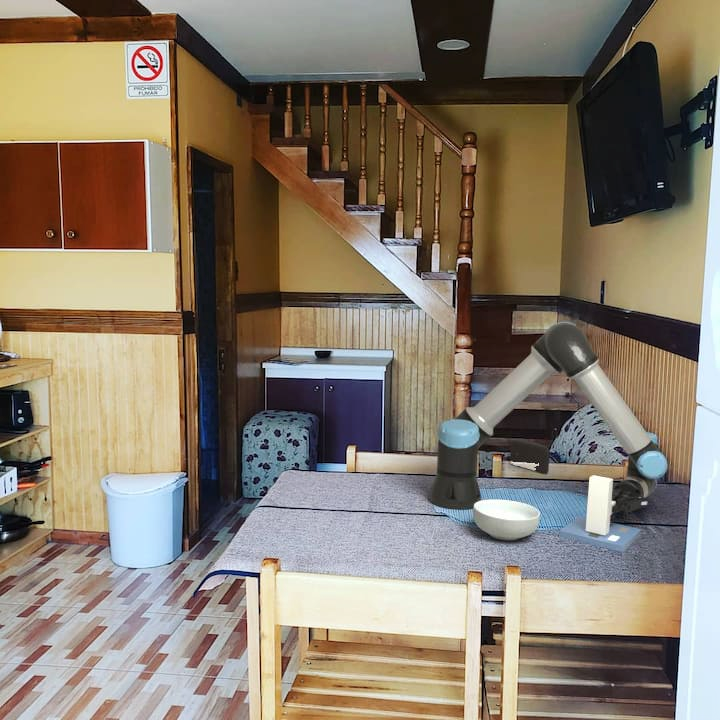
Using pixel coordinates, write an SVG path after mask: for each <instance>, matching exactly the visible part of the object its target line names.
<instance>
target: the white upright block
mask: <svg viewBox="0 0 720 720" xmlns="http://www.w3.org/2000/svg"><path fill="white" fill-rule="evenodd" d="M588 480H589V481H588V492H587V494H588V495H587V503H586V504H587V505H586V507H587V508H586V517H587V518H586V531H588V532H592V533H596V534H600V535H605V536H606V535H607V534H608V533H609V526H610V522H611V515H610V513H611V500H612V490H613V485H614V484H613V483H614V479H613V478H609V477H604V476H598V475H595V474H594V475H593V474H592V475H591V476H590V477H589V479H588Z"/></svg>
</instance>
